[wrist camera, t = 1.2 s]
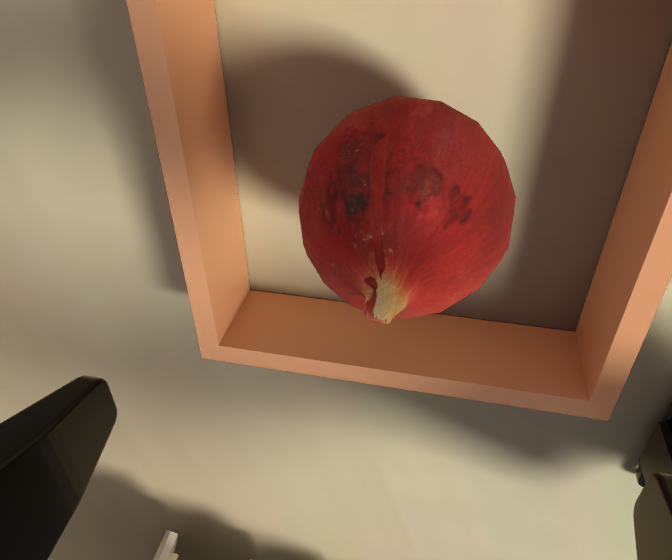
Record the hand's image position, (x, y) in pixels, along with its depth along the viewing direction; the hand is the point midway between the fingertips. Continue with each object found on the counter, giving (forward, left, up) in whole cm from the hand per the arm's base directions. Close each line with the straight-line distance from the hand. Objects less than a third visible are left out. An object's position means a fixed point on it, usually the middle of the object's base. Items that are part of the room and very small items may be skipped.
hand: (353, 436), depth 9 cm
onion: (0, 0, -12) cm, 12 cm away
